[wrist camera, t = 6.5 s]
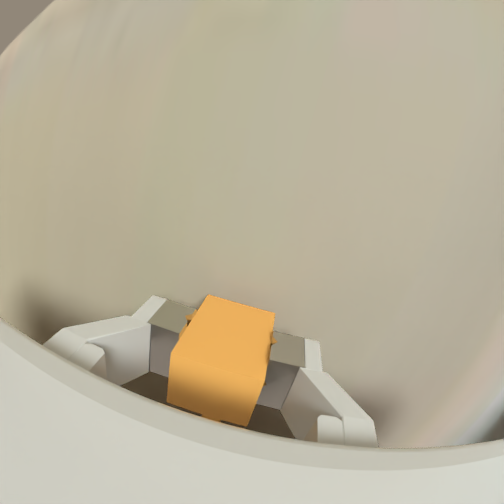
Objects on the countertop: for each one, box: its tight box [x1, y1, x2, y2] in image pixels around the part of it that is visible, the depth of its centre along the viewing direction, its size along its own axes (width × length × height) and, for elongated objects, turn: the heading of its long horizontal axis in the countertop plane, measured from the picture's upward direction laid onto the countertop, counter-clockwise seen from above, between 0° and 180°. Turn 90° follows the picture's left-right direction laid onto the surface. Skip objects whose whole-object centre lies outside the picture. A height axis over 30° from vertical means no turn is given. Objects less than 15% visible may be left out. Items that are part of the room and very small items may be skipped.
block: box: [167, 295, 275, 427], centre depth 11 cm, size 6×17×6 cm, turn 167°
